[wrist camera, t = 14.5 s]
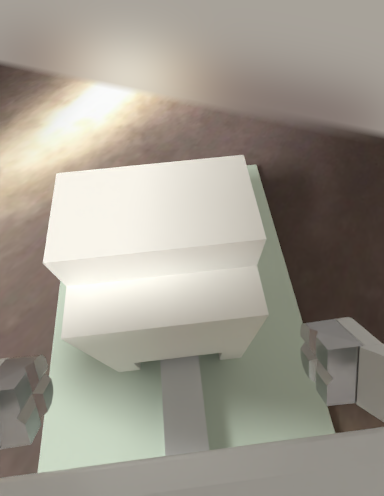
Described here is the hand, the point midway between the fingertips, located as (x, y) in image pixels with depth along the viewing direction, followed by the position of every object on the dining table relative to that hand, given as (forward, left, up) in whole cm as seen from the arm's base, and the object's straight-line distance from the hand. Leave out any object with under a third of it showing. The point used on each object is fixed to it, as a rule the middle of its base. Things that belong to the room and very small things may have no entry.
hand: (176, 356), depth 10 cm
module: (+1, +3, -5) cm, 5 cm away
